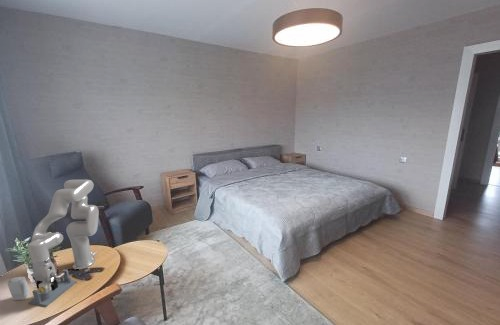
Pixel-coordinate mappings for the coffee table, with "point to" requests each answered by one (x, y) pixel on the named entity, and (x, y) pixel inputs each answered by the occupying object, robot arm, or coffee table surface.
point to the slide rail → (50, 296)
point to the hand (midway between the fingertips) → (47, 287)
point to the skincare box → (18, 288)
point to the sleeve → (46, 285)
